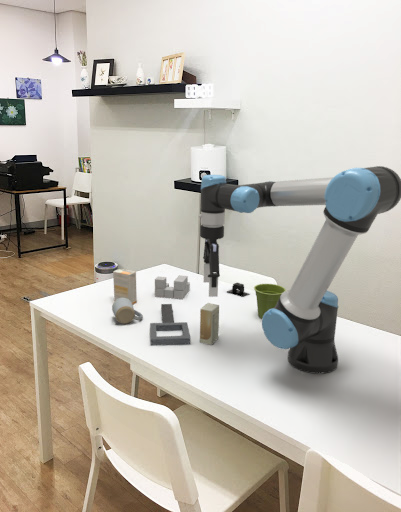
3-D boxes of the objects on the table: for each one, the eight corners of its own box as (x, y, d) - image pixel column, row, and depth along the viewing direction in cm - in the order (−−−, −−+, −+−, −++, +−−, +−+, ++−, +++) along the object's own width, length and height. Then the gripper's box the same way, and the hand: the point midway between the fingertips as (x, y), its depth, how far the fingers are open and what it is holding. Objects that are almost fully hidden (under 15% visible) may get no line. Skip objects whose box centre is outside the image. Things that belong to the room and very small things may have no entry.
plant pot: (269, 325, 177) (271, 296, 174) (245, 315, 185) (247, 287, 182) (290, 317, 184) (292, 289, 181) (266, 308, 193) (268, 281, 190)
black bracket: (254, 295, 208) (255, 285, 207) (244, 300, 203) (245, 289, 202) (231, 288, 216) (231, 279, 215) (221, 292, 211) (221, 282, 209)
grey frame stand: (190, 344, 161) (190, 338, 160) (150, 345, 159) (150, 339, 159) (183, 308, 190) (183, 303, 190) (149, 309, 189) (149, 304, 188)
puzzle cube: (189, 290, 212) (190, 273, 209) (182, 300, 200) (183, 281, 198) (163, 288, 214) (163, 270, 212) (154, 297, 203) (154, 279, 201)
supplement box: (137, 302, 196) (136, 271, 192) (129, 306, 192) (128, 274, 188) (121, 298, 200) (120, 267, 197) (113, 301, 196) (112, 270, 193)
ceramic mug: (115, 326, 173) (115, 306, 171) (112, 317, 181) (111, 298, 179) (145, 323, 177) (144, 303, 175) (140, 314, 184) (140, 295, 182)
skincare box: (207, 335, 168) (208, 302, 164) (218, 338, 166) (220, 304, 163) (198, 342, 162) (199, 308, 159) (210, 345, 160) (211, 310, 157)
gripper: (196, 217, 165) (194, 276, 170) (205, 234, 141) (203, 303, 147) (218, 217, 166) (216, 276, 171) (230, 234, 142) (228, 302, 148)
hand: (210, 289), depth 159 cm, fingers open, 13 cm apart
